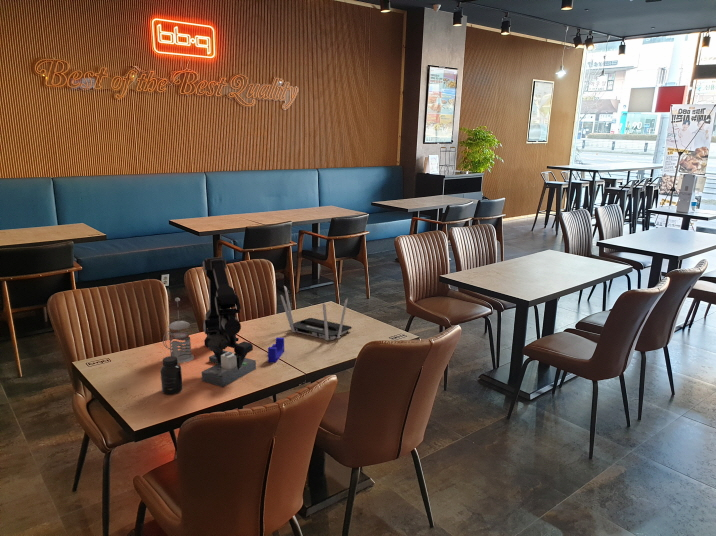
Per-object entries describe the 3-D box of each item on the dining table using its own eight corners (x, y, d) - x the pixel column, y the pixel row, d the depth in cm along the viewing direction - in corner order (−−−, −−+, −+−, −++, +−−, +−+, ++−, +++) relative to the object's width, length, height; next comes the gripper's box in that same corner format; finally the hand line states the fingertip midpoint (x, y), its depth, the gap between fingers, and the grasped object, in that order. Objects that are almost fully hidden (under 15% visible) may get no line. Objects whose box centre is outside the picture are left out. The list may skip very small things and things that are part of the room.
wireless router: (362, 333, 250) (363, 290, 245) (334, 350, 230) (334, 303, 226) (302, 319, 266) (301, 279, 261) (271, 334, 247) (270, 291, 242)
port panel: (202, 380, 200) (201, 370, 199) (235, 363, 215) (235, 354, 215) (222, 387, 195) (222, 377, 195) (255, 369, 211) (255, 359, 210)
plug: (221, 375, 205) (220, 353, 203) (229, 371, 208) (228, 350, 206) (230, 378, 203) (229, 356, 201) (237, 374, 206) (236, 352, 204)
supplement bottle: (164, 386, 195) (162, 354, 192) (184, 386, 196) (182, 354, 193) (159, 395, 189) (157, 362, 186) (180, 395, 189) (178, 362, 186)
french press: (199, 358, 220) (195, 297, 214) (172, 366, 212) (168, 304, 206) (185, 351, 226) (182, 292, 220) (159, 359, 218) (154, 298, 212)
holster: (209, 361, 217) (208, 356, 216) (223, 354, 224) (223, 350, 223) (224, 366, 213) (224, 361, 213) (238, 358, 220) (238, 354, 219)
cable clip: (273, 350, 229) (273, 337, 228) (284, 351, 228) (284, 337, 227) (264, 362, 217) (264, 348, 216) (275, 363, 217) (275, 348, 215)
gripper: (192, 327, 198) (194, 368, 202) (232, 337, 190) (233, 379, 193) (214, 319, 208) (216, 357, 212) (253, 328, 199) (254, 368, 203)
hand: (229, 365), depth 205 cm, fingers open, 9 cm apart
